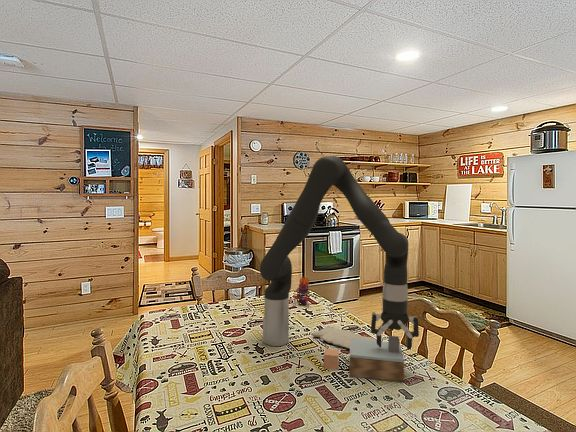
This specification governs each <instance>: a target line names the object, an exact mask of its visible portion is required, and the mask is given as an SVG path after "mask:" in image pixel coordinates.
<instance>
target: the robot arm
mask: <svg viewBox="0 0 576 432" xmlns="http://www.w3.org/2000/svg"><path fill="white" fill-rule="evenodd" d="M332 186H334V187H335V188H336V189H338V190H339V192H341V194H343V196H344V198H346V200H347V202H348V204H349V205H350V207H351V209H352V211H353V213H354V215H355V216H356V218H357V219H358V220H359V222H360V223H361V224H363V226H364V227H365V228H366V229H367V230H368V231H369V233H371V235H372V236H373V237H374V239H375V240H376V242H377V244H378V245H379V247H380V248H381V249H382V250H383V251H384V253H385V264H384V268H383V285H382V301H381V302H382V310H381V314H379V313H376V312H372V313H371V322H370V323H371V324H370V332H371V333H372V334H375V335H376V340H377V345H379V347H381V341H382V334H383V333H384V332H386V330H387V329H389V330H396V331H400V330H402V331H403V332H404V333H405V335H406V350H408V351H409V350H411V349H412V348H413V339H414V338H415V337H416V338H418V337H419V336H420V331H419V319H418V316H417V315H415V314H414V315H413V316H409V315H408V306H409V304H408V301H409V289H408V257H409V256H408V255H409V239H408V238H407V236H406V235H404V234H403V233H401V232H399V231H397V229H396V228H395V227H394V226H393V225H392V223H391V222H390V219H389V218H388V217H387V216H386V214H385V213H384V211H382V210H381V208H379V206H377V204H376V203H375V202H374V201H373V200H372V199H371V198H370V197H369V195H368V194H367V192H366V191H365V190H364V189H363V187H361V185H360V184H359V183H358V181H357V180H356V178H355V176H354V175H353V174H352V172H351V170H350V169H349V167H348V166H347V164H346V163H345V161H344V160H343V158H340V157H339V156H335V155H327V156H322V157H320V158H319V159H318V160H316V161H315V162H314V164H313V167H312V168H311V171H310V173H309V176H308V178H307V180H306V183H305V185H304V187H303V190H302V191H301V193H300V195H299V196H298V198H297V200H296V202H295V203H294V206H293V207H292V209H291V211H290V212H289V213H288V215H287V218H286V220H285V222H284V224H283V226H282V228H281V229H280V231H279V232H278V234H277V237H276V238H275V241H274V242H273V244H272V245H271V247H270V248H269V250H267V253H265V255H264V256H263V258H262V260H261V262H260V266H259V273H260V275H261V278H262V279H263V280H265V281H269V282H270V283H269V285H268V286H266V288H265V289H264V301H263V302H264V303H263V304H264V306H263V307H264V308H263V309H264V313H263V314H264V315H263V316H264V317H262V343H263V344H266V345H268V346H271V347H281V346H285V345H287V344H288V343H289V337H290V334H289V331H290V330H289V329H290V328H289V327H290V326H289V325H290V316H289V315H290V314H289V311H290V307H289V305H290V300H289V299H290V298H289V297H290V292H291V289H292V278H293V277H292V276H293V275H292V273H293V266H292V262H291V259H290V257H289V255H290V254H291V252H293V251H294V250H295V249H296V248H297V247H298V246H299V245H300V244H301V243H302V242H304V240H305V239H306V238H307V237H308V236H309V234H310V232H311V231H312V229H313V227H314V226H315V223H316V221H317V219H318V217H319V216H318V215H319V210H320V207H321V203H322V201H323V199H324V198H325V195H326V194H327V193H328V191H329V190H330V188H331V187H332ZM379 319H381V324H380V325H379V327H378V328H376V325H377V322H378V321H379ZM409 322H410V323H411V324H412V326H413V331H411V330H410V329H409V328H408V326H407V323H409Z"/></svg>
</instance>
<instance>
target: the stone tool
mask: <svg viewBox="0 0 576 432" xmlns="http://www.w3.org/2000/svg"><path fill="white" fill-rule="evenodd" d="M311 336H312V337H314V338H315V337H316V338H319V339H320V340H323V341H325V342H327V343H328V344H332V345H334V346H340V347H342V348H346V349H349V350H350V343H351V339H361V340H372V341H377V338H373V337H372V336H364V335H360V334H357V333H355V332H353V331H351V330H346V329H340V328H334V327H332V326H330V325H327V326H326V327H324V328H322V329H320V330H317V331H314V332H312V334H311Z"/></svg>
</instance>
